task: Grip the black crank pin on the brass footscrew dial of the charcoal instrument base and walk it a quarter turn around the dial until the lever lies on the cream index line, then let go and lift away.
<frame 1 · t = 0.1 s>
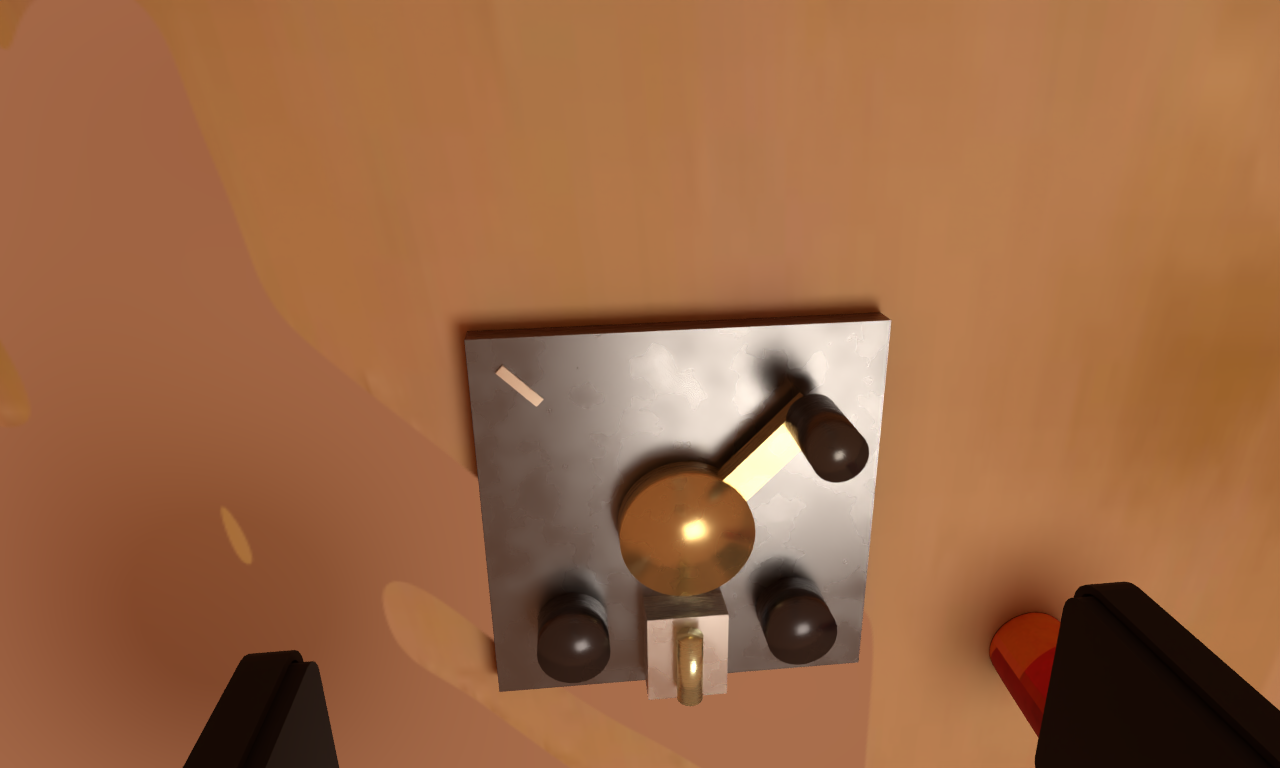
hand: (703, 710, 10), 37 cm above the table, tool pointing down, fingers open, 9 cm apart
crank dial: (738, 506, 46), point 5 cm above the table, hinge at 0.0°
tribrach: (678, 505, 51), on the table
paper cup: (1025, 641, 58), on the table
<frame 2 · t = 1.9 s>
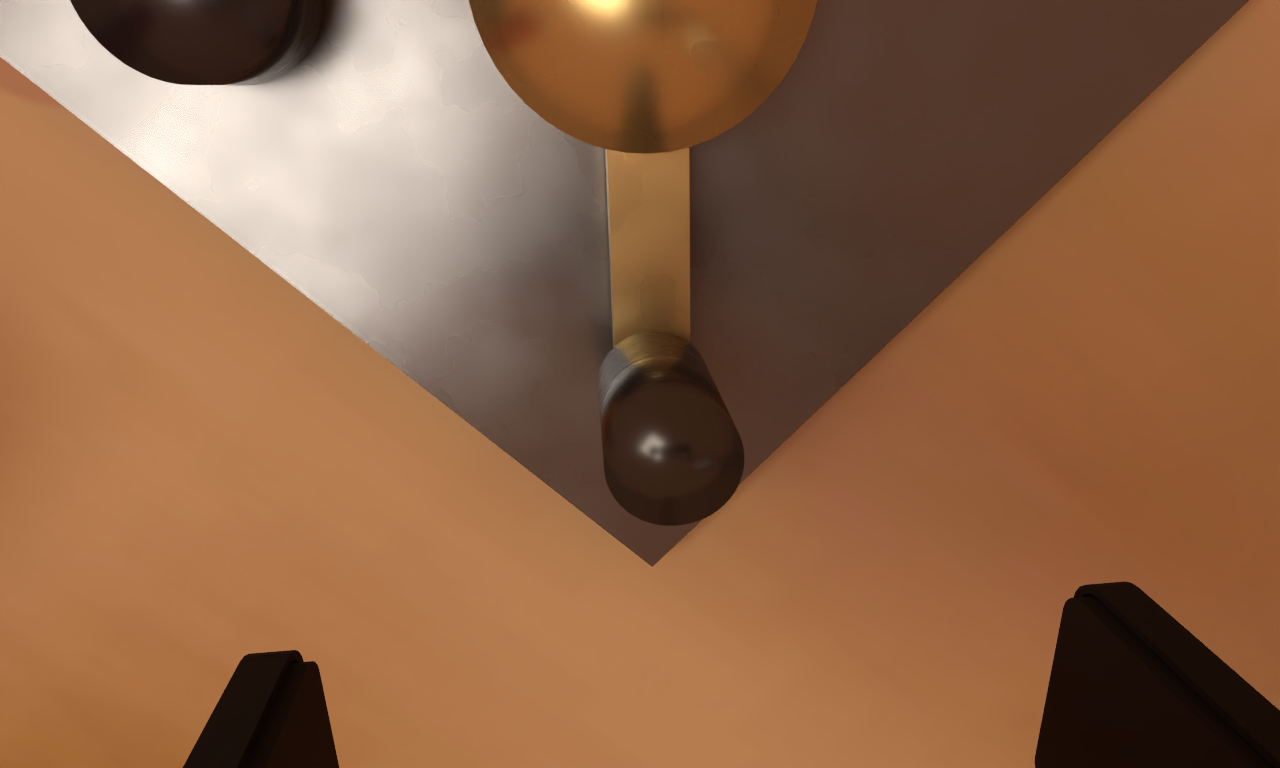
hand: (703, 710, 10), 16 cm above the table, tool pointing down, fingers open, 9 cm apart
crank dial: (654, 146, 18), point 5 cm above the table, hinge at 0.0°
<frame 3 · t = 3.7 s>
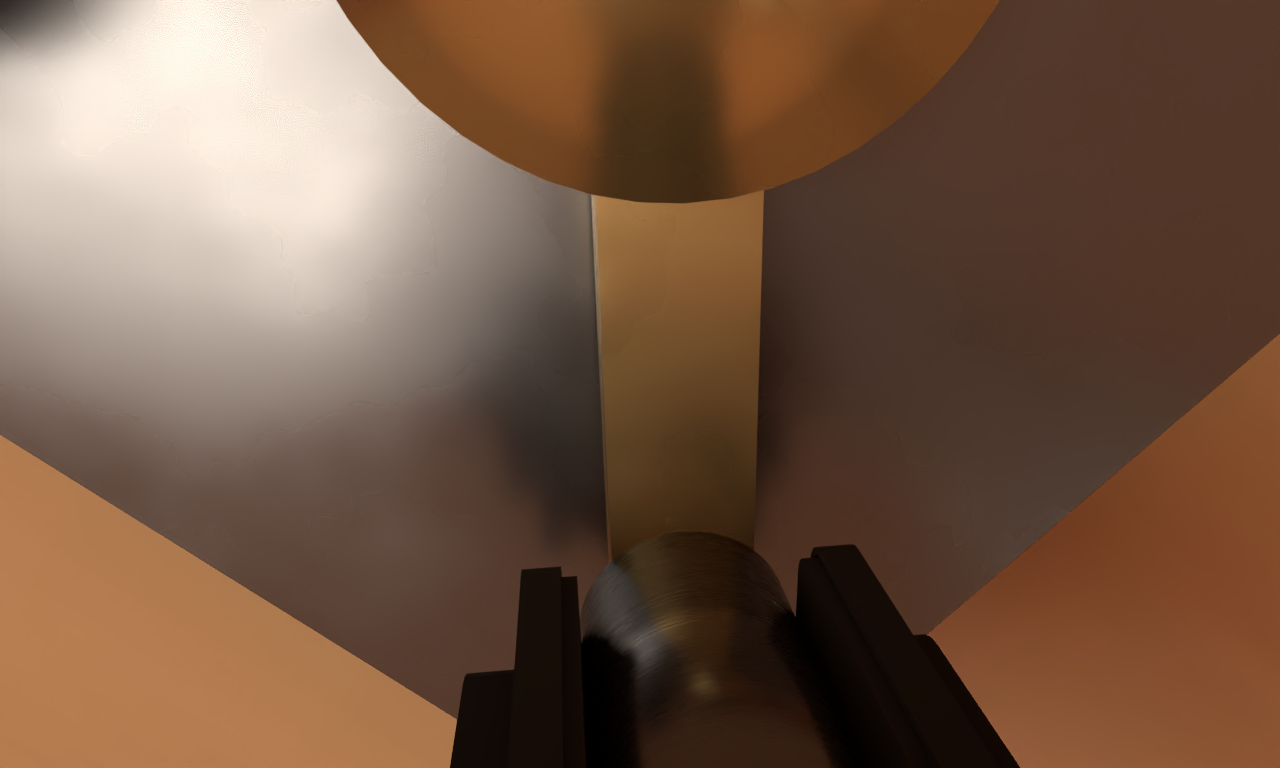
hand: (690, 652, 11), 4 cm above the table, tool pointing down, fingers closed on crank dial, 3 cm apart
crank dial: (703, 196, 8), point 5 cm above the table, hinge at 0.0°, touching gripper
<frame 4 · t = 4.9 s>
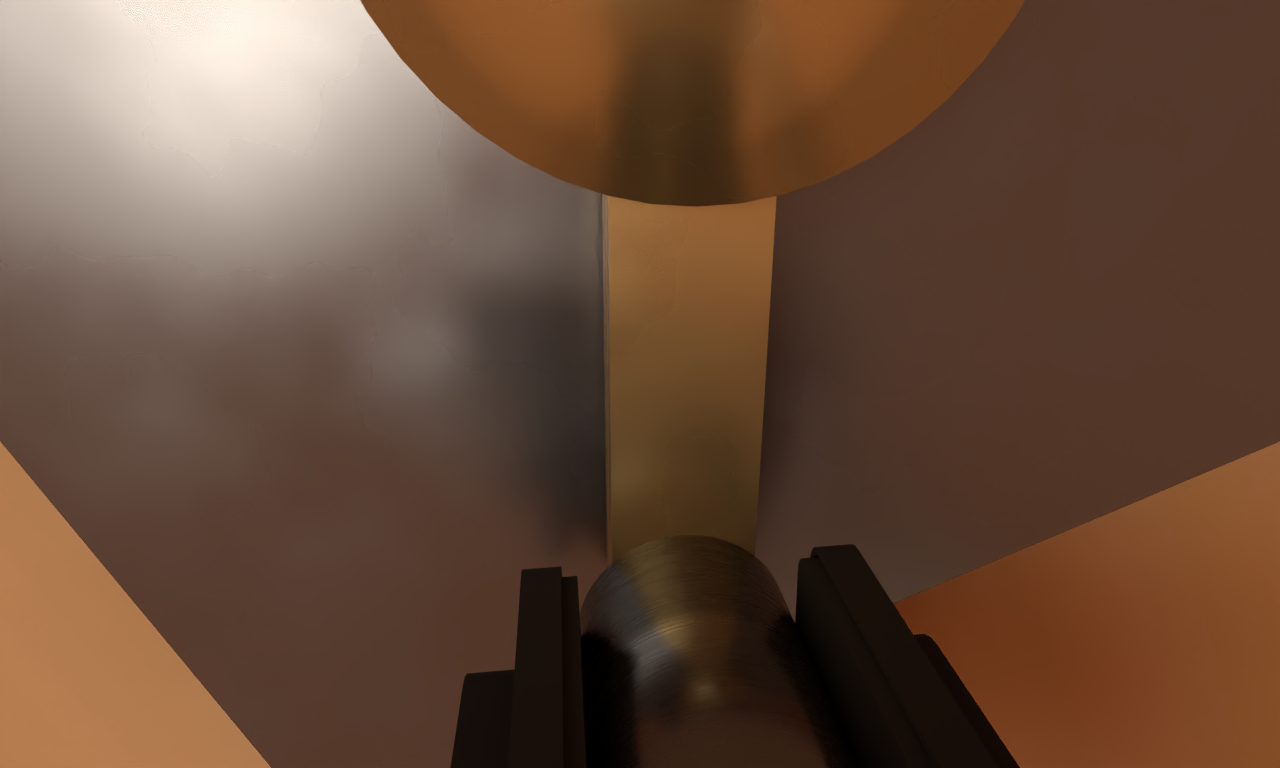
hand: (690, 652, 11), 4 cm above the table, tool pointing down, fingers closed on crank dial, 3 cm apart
crank dial: (719, 200, 8), point 5 cm above the table, hinge at 21.2°, touching gripper
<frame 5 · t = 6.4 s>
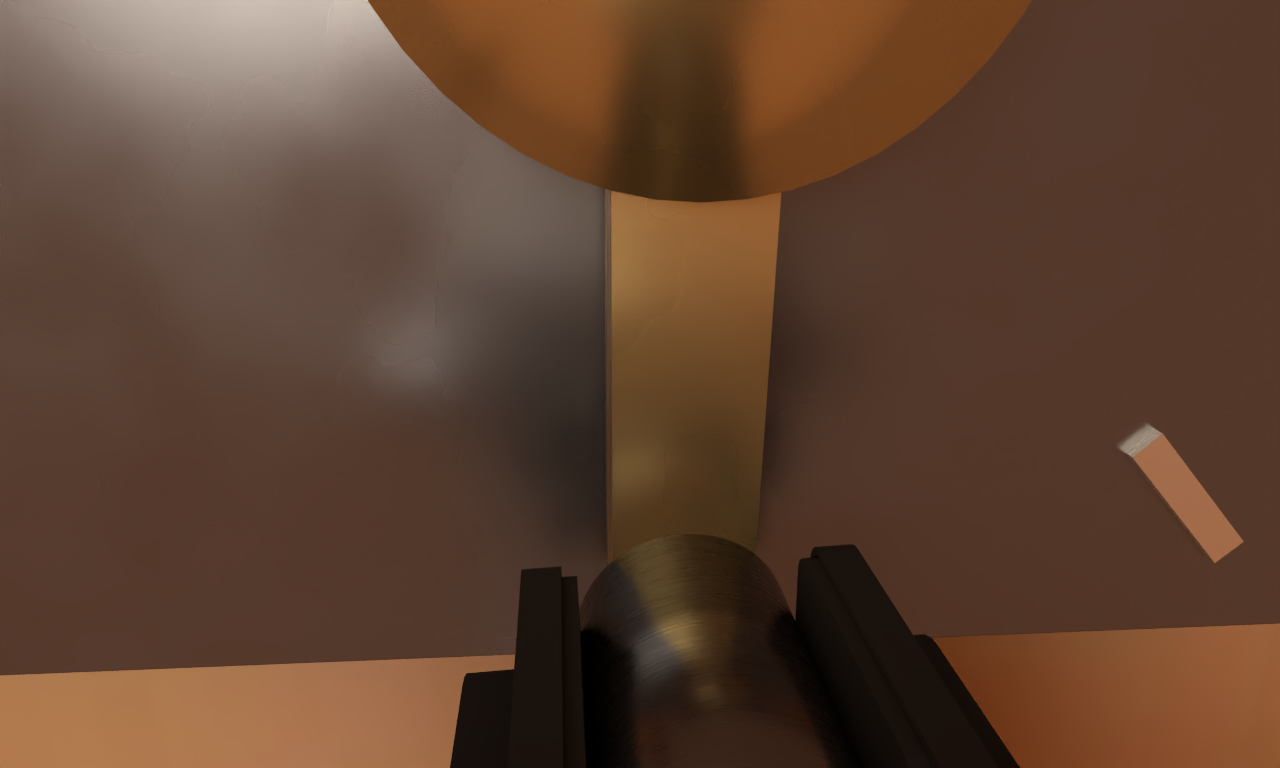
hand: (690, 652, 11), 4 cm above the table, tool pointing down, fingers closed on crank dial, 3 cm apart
crank dial: (724, 195, 8), point 5 cm above the table, hinge at 46.1°, touching gripper
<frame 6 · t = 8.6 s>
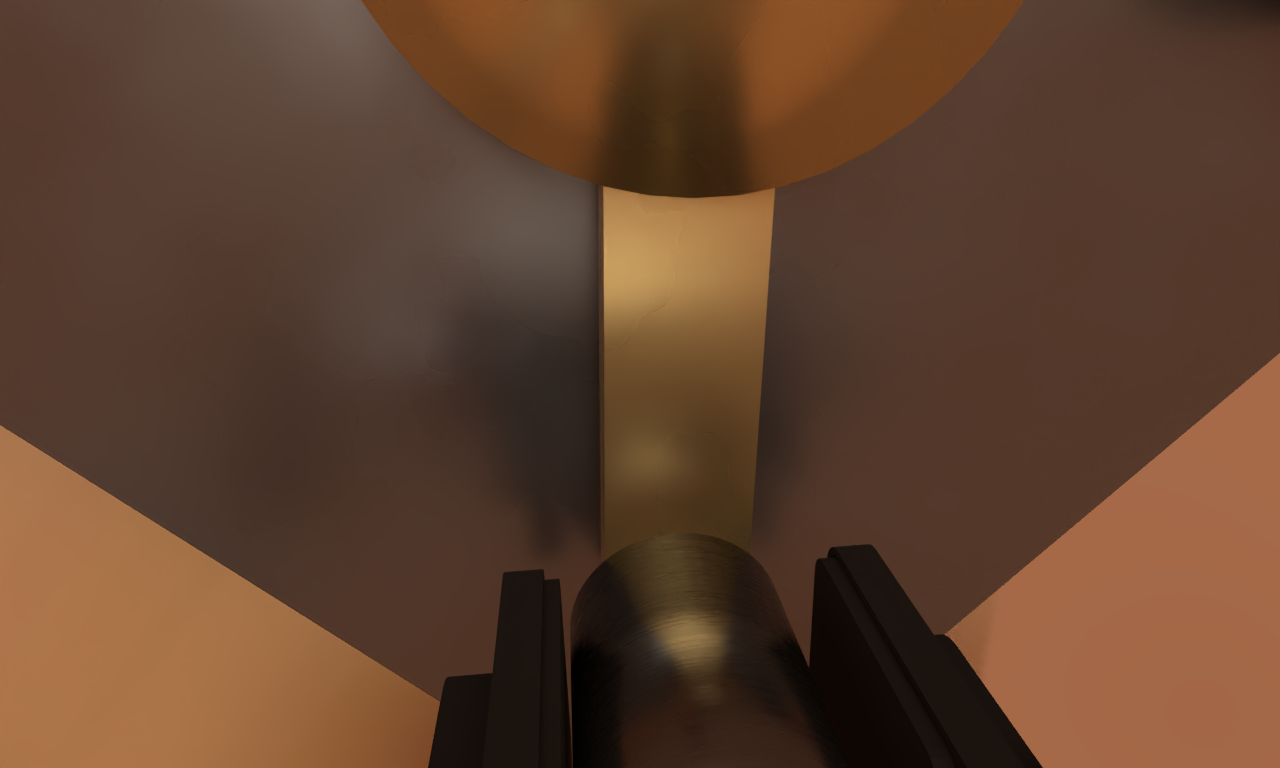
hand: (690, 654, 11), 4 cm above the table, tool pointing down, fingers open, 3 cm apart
crank dial: (715, 190, 8), point 5 cm above the table, hinge at 88.0°
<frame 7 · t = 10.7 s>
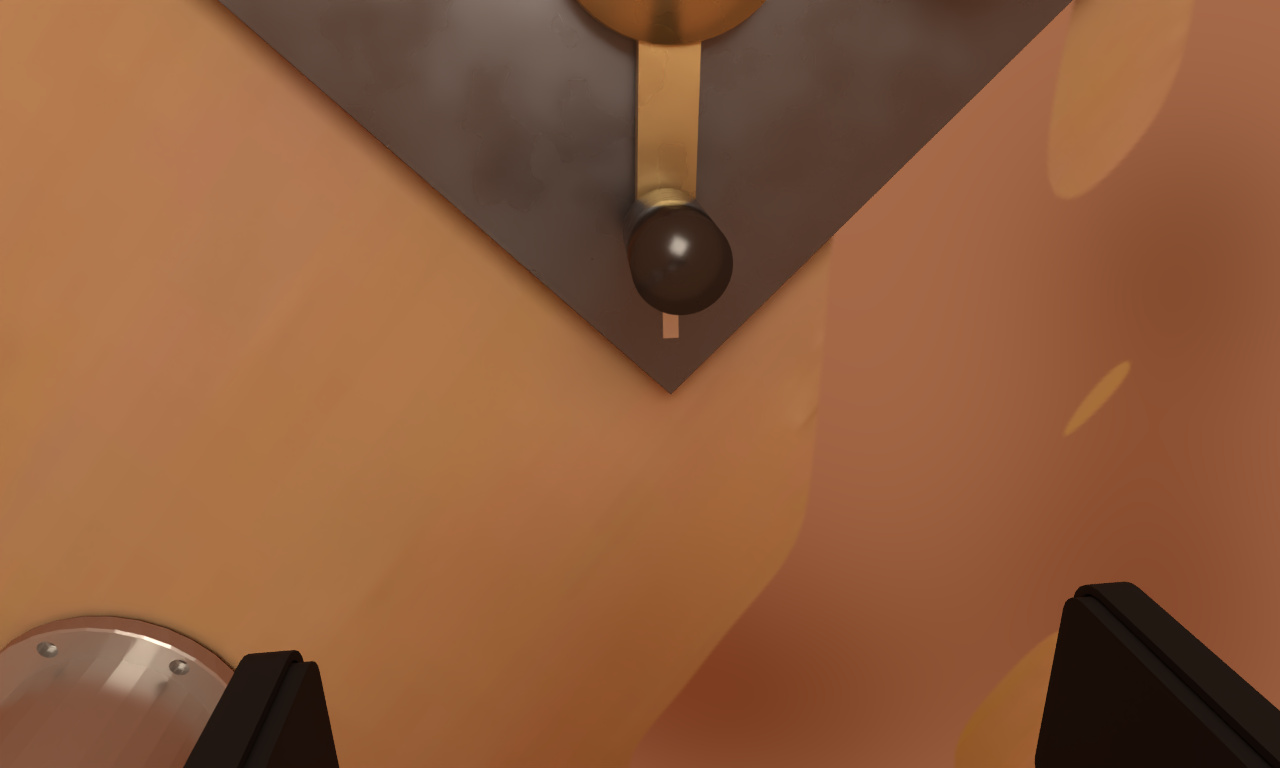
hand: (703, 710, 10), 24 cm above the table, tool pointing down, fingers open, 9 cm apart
crank dial: (675, 35, 24), point 5 cm above the table, hinge at 88.1°
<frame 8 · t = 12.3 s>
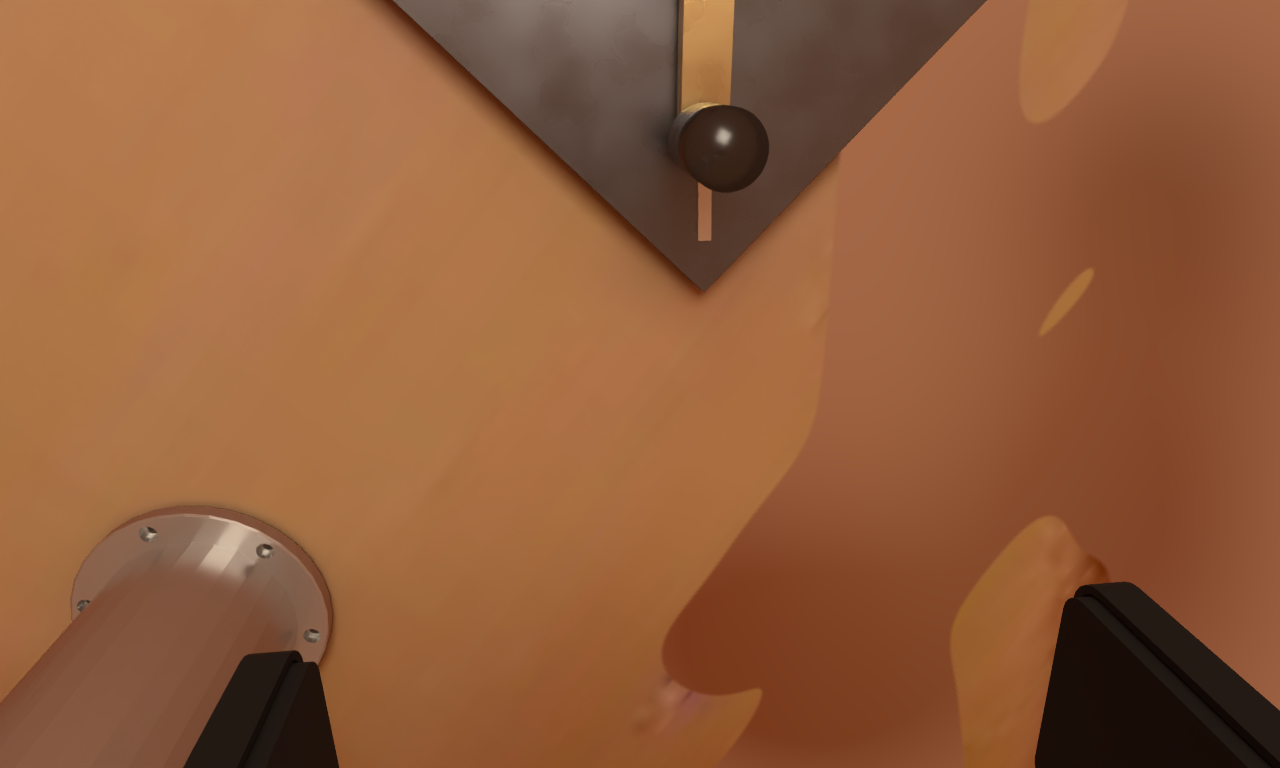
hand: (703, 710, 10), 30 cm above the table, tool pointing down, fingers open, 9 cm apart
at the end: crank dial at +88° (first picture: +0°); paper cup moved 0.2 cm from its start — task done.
